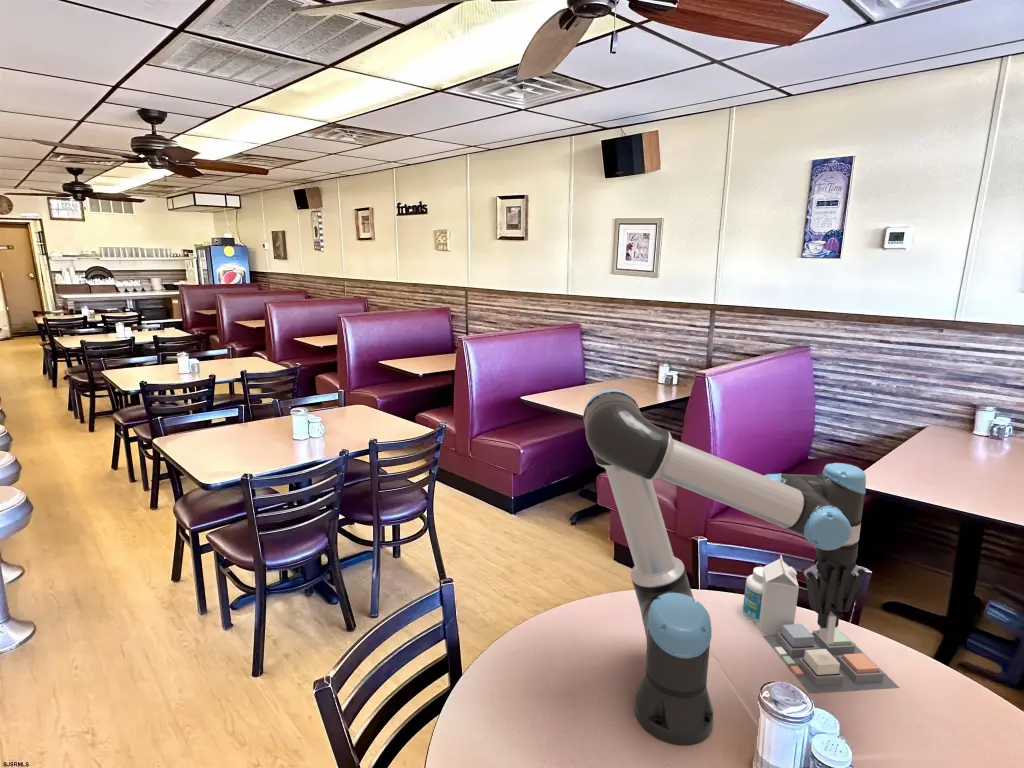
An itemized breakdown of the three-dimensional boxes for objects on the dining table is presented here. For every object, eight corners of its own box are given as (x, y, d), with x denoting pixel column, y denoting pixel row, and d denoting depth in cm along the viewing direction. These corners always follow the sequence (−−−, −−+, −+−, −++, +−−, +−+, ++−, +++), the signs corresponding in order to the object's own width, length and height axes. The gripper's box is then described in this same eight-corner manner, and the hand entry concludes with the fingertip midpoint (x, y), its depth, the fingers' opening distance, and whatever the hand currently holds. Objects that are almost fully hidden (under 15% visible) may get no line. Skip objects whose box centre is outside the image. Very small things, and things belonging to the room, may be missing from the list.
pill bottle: (736, 610, 148) (741, 564, 145) (763, 609, 149) (769, 562, 145) (751, 629, 141) (757, 580, 137) (779, 627, 141) (785, 579, 138)
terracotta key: (856, 679, 121) (857, 669, 121) (841, 663, 126) (842, 654, 125) (877, 677, 122) (878, 668, 121) (861, 662, 126) (863, 653, 126)
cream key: (817, 675, 120) (818, 665, 120) (803, 659, 125) (805, 650, 124) (838, 673, 120) (839, 663, 120) (824, 658, 125) (825, 648, 125)
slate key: (793, 647, 129) (794, 637, 128) (781, 633, 134) (782, 624, 133) (813, 646, 129) (814, 636, 129) (800, 632, 134) (801, 623, 133)
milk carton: (759, 636, 138) (768, 566, 134) (757, 619, 144) (765, 552, 140) (791, 643, 136) (801, 572, 131) (787, 625, 142) (796, 557, 138)
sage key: (829, 651, 130) (830, 642, 129) (816, 638, 135) (818, 629, 134) (849, 650, 130) (850, 641, 130) (835, 637, 135) (837, 628, 135)
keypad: (809, 697, 118) (810, 685, 117) (762, 639, 136) (763, 628, 136) (899, 691, 120) (900, 679, 119) (840, 634, 138) (841, 623, 138)
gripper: (818, 548, 112) (807, 653, 117) (880, 545, 113) (866, 649, 118) (796, 531, 120) (787, 630, 124) (855, 528, 121) (843, 627, 125)
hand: (825, 639), depth 121 cm, fingers closed
